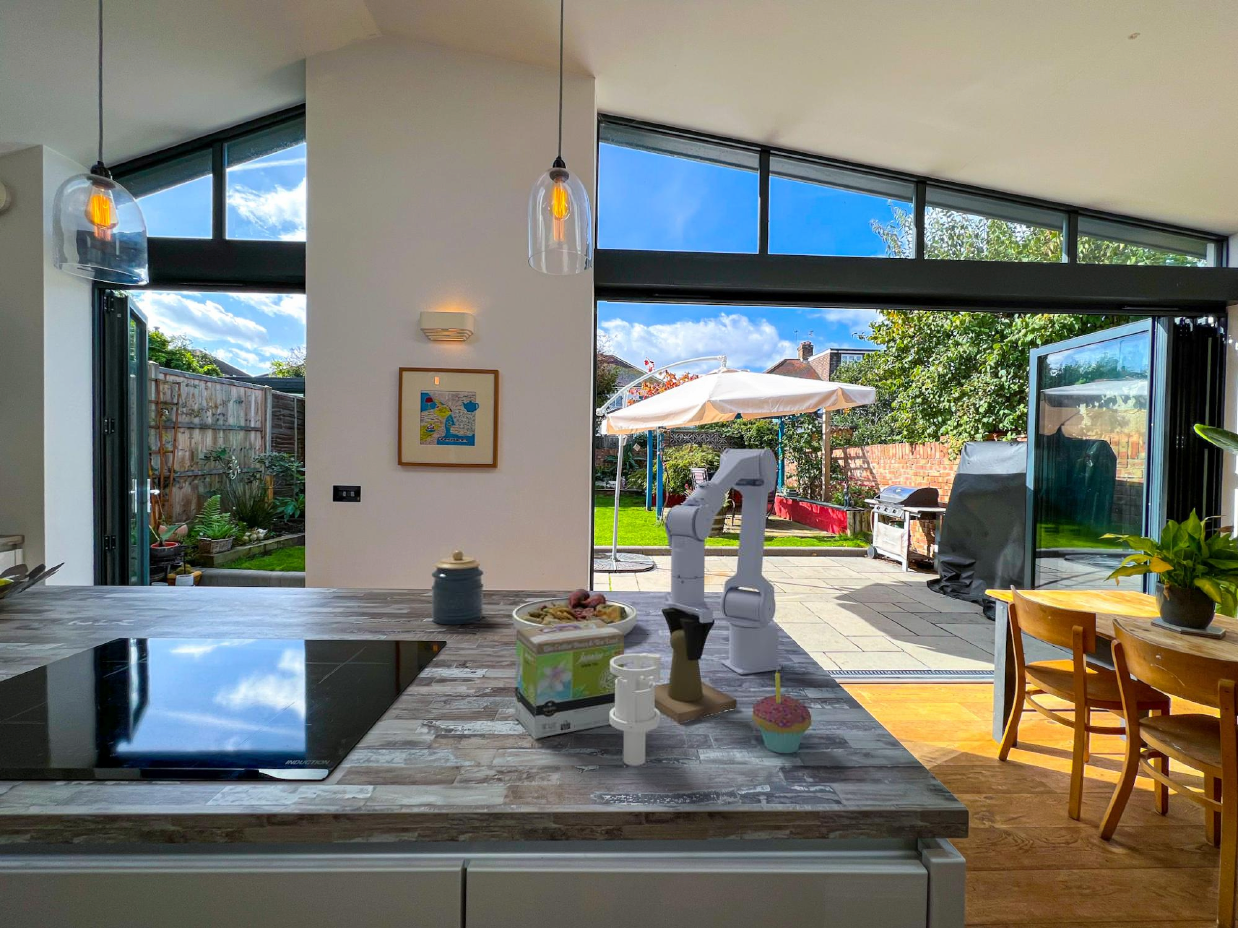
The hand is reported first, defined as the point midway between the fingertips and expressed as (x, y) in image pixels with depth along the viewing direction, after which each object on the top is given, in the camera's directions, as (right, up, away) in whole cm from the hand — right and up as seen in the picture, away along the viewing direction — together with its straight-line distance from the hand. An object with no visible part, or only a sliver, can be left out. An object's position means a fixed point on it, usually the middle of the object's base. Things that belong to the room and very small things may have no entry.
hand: (686, 654), depth 110 cm
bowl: (-22, -8, +45) cm, 51 cm away
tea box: (-20, -9, -7) cm, 23 cm away
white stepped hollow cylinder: (-9, -9, -20) cm, 24 cm away
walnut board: (0, -9, 0) cm, 9 cm away
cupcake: (+12, -9, -16) cm, 22 cm away
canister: (-53, -8, +55) cm, 77 cm away
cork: (0, -7, 0) cm, 7 cm away
